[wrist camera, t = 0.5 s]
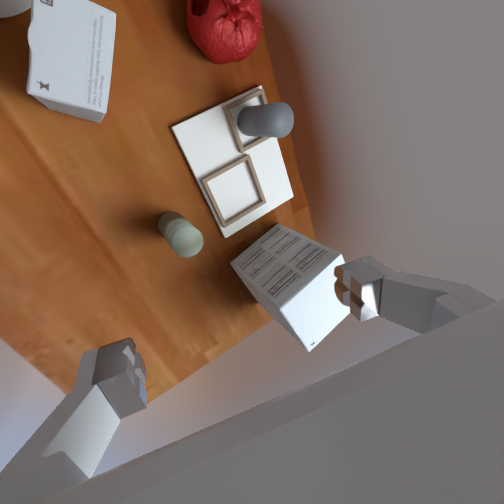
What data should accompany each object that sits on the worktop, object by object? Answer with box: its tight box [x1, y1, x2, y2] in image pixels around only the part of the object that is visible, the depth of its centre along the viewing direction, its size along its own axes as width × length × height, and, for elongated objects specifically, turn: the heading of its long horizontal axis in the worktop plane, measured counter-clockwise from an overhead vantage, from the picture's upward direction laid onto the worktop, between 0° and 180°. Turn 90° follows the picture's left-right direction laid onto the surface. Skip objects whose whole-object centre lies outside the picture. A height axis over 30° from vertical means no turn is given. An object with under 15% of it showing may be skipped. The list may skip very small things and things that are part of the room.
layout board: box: [171, 86, 294, 238], centre depth 45 cm, size 20×16×10 cm
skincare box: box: [26, 0, 116, 123], centre depth 29 cm, size 8×6×15 cm
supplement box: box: [230, 223, 350, 352], centre depth 53 cm, size 13×13×18 cm
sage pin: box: [158, 212, 203, 257], centre depth 43 cm, size 4×4×9 cm
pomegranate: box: [186, 0, 264, 64], centre depth 36 cm, size 10×10×9 cm
